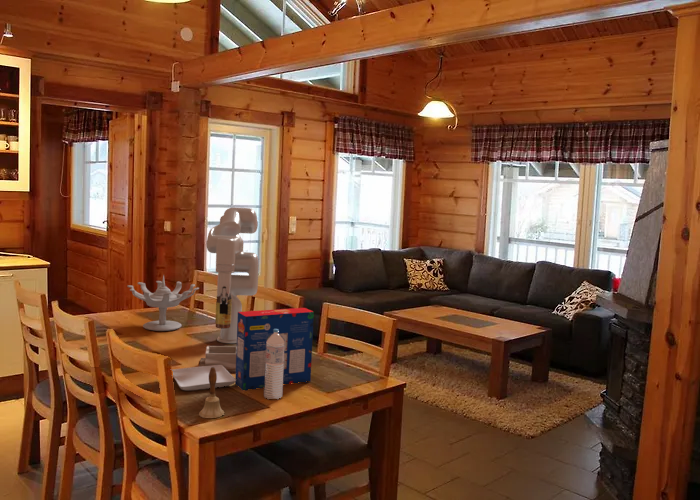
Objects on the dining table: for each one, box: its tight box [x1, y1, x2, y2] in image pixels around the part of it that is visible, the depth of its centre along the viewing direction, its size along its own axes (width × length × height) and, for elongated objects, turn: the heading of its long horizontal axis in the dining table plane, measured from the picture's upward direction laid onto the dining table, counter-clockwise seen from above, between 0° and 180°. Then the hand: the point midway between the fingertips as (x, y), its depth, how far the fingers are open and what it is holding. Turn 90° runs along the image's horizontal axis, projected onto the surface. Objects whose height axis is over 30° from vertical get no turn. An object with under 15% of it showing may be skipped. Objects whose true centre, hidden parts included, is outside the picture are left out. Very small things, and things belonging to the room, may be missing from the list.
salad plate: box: [171, 365, 236, 391], centre depth 242 cm, size 21×21×3 cm
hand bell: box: [198, 367, 225, 419], centre depth 210 cm, size 8×8×16 cm
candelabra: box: [127, 274, 200, 332], centre depth 320 cm, size 34×35×27 cm
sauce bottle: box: [214, 294, 232, 330], centre depth 260 cm, size 7×6×20 cm
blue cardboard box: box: [234, 307, 315, 391], centre depth 244 cm, size 28×8×28 cm, turn 121°
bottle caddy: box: [198, 345, 237, 374], centre depth 263 cm, size 18×18×7 cm
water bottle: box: [263, 329, 285, 400], centre depth 229 cm, size 7×7×25 cm
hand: (223, 311), depth 260 cm, fingers closed on sauce bottle, 6 cm apart
